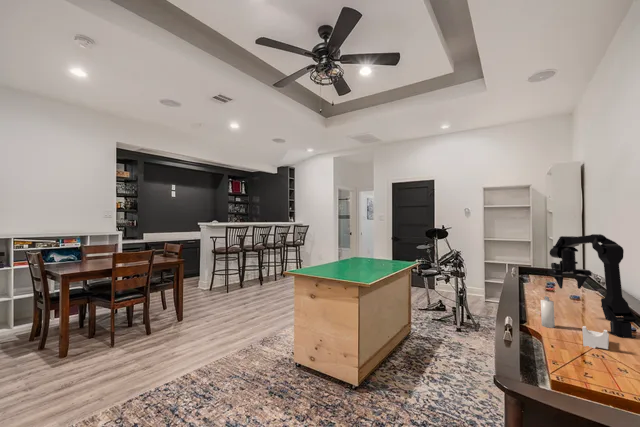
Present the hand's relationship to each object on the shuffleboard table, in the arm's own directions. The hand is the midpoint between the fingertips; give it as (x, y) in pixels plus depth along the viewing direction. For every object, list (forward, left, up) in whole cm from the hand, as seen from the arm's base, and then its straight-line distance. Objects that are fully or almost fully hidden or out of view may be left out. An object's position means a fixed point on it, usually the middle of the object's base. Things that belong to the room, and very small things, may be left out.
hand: (569, 288), depth 157 cm
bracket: (-39, +19, -15) cm, 46 cm away
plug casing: (-18, +23, -15) cm, 33 cm away
